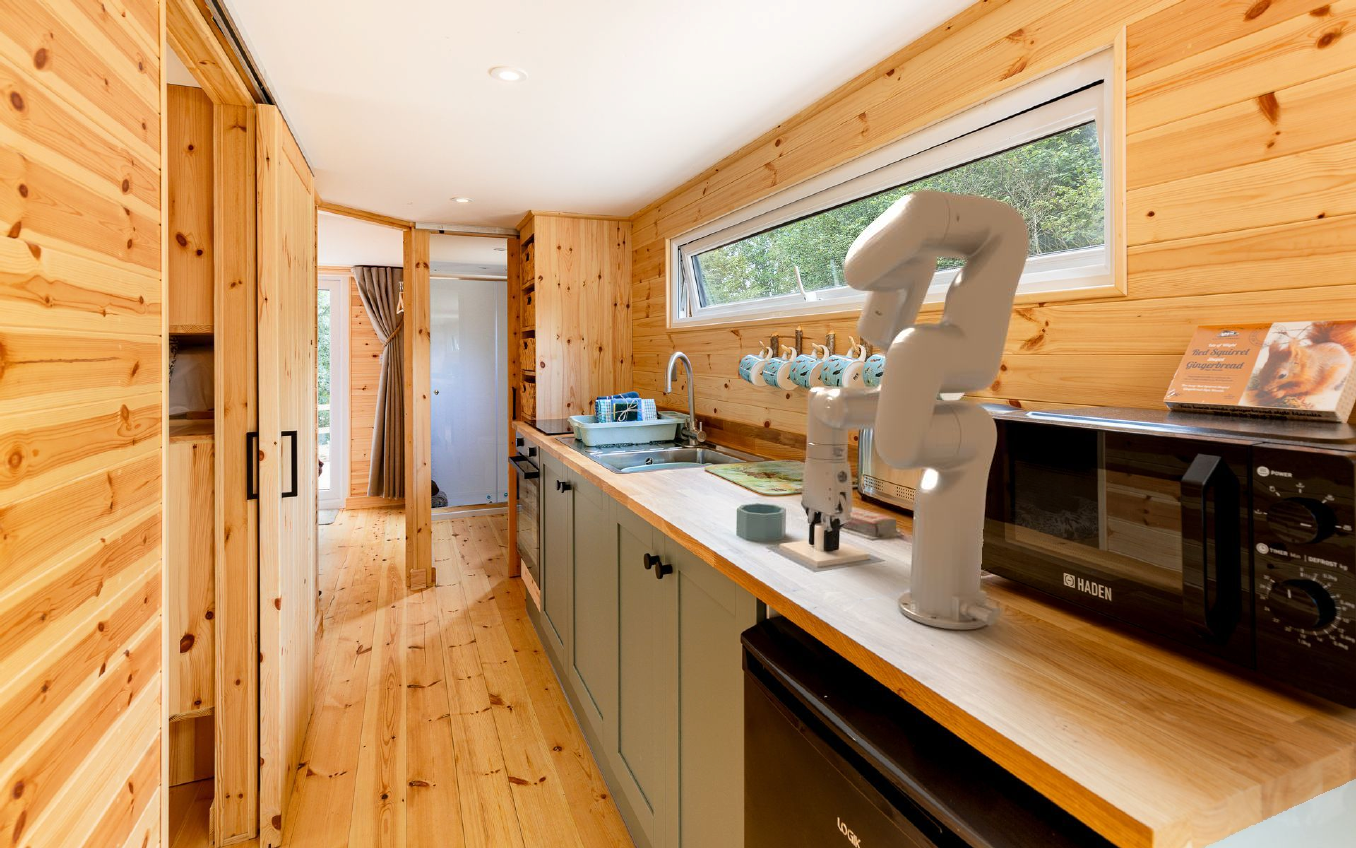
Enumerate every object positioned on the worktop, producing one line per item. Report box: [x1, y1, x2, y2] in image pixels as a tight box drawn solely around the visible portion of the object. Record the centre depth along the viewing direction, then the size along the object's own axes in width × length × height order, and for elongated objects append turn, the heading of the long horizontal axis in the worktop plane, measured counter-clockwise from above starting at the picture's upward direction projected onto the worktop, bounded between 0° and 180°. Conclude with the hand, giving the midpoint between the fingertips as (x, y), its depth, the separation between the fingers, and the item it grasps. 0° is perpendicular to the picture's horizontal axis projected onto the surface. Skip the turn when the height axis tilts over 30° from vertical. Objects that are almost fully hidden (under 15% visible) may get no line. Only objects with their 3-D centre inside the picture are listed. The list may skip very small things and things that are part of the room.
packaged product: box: [821, 506, 903, 541], centre depth 143 cm, size 18×5×10 cm
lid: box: [778, 523, 871, 567], centre depth 123 cm, size 12×12×6 cm
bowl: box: [736, 503, 787, 543], centre depth 136 cm, size 10×10×6 cm
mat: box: [764, 544, 886, 573], centre depth 124 cm, size 16×16×1 cm
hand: (823, 546), depth 123 cm, fingers open, 3 cm apart
